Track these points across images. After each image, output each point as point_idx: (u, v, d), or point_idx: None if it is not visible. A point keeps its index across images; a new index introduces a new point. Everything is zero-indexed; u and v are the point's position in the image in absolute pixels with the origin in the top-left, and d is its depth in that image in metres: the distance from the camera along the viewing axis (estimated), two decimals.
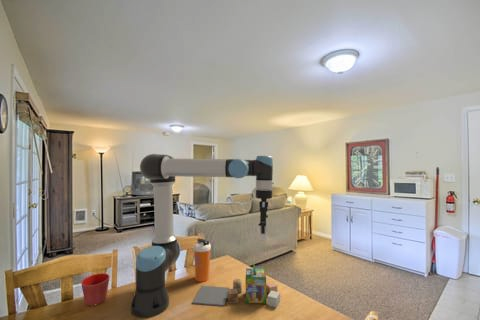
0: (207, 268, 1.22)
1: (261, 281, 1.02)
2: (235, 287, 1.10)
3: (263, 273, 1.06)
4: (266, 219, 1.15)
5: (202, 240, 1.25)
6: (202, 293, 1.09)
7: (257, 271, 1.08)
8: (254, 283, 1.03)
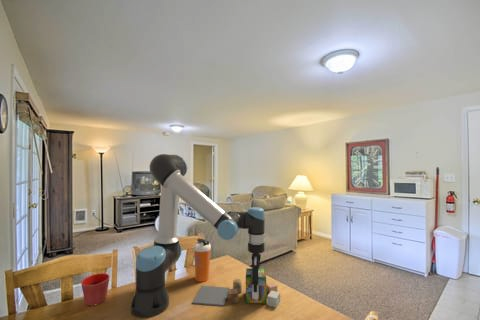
0: (207, 268, 1.22)
1: (261, 281, 1.02)
2: (235, 287, 1.10)
3: (263, 273, 1.06)
4: None
5: (202, 240, 1.25)
6: (202, 293, 1.09)
7: None
8: None
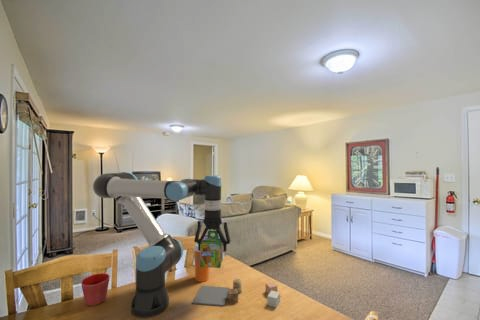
0: (207, 268, 1.22)
1: None
2: (235, 287, 1.10)
3: (209, 240, 1.05)
4: None
5: None
6: (202, 293, 1.09)
7: (214, 238, 1.08)
8: None
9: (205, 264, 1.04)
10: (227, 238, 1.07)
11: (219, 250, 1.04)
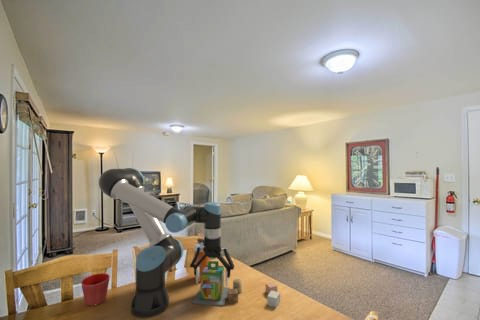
0: None
1: None
2: (235, 287, 1.10)
3: (209, 272, 1.05)
4: (225, 272, 1.06)
5: (202, 240, 1.25)
6: None
7: (214, 270, 1.08)
8: None
9: (206, 297, 1.04)
10: (230, 264, 1.06)
11: (219, 283, 1.04)
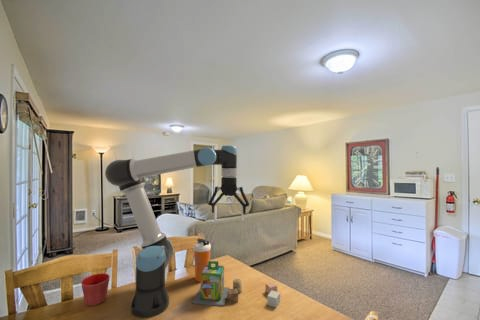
0: None
1: None
2: (235, 287, 1.10)
3: (209, 272, 1.05)
4: (241, 208, 1.15)
5: (202, 240, 1.25)
6: None
7: (214, 270, 1.08)
8: None
9: (206, 297, 1.04)
10: (246, 201, 1.15)
11: (219, 283, 1.04)
